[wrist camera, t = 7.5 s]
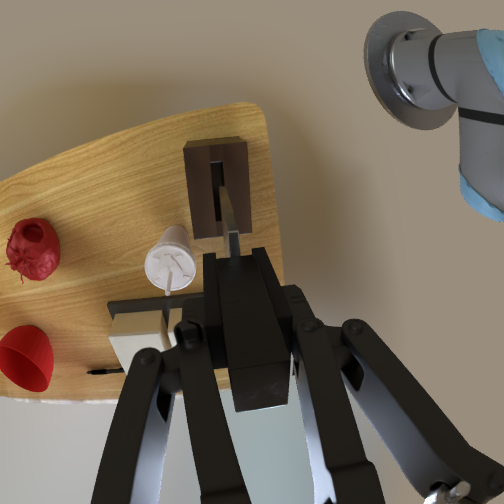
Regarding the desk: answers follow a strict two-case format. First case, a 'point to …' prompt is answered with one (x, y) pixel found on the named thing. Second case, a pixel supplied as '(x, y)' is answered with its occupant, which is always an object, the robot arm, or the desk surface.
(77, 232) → the desk surface
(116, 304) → the cake board
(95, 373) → the pen
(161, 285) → the smoothie
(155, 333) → the cake
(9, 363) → the ceramic cup
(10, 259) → the pomegranate
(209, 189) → the knife block
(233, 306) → the knife
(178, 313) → the cream rectangular block
